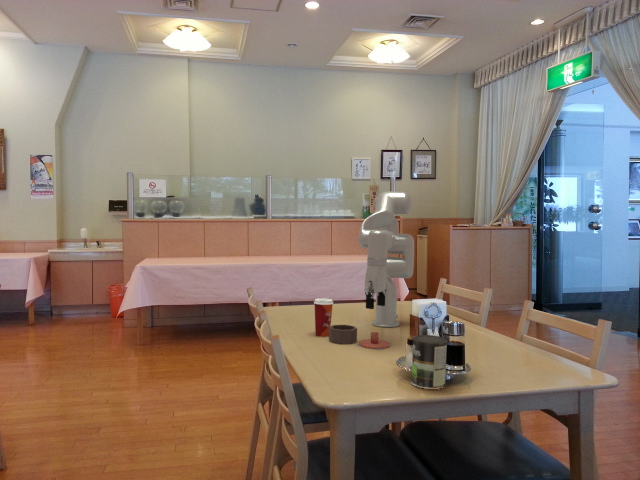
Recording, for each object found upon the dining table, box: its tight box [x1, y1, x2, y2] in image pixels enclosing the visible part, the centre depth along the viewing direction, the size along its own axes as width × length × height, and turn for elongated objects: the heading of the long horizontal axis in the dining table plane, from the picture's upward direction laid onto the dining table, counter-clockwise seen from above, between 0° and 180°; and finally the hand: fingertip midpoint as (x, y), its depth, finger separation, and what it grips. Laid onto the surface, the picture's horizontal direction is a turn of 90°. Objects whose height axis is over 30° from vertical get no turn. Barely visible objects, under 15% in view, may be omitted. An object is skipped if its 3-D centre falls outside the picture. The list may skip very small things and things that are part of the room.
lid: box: [358, 331, 391, 350], centre depth 210 cm, size 12×12×5 cm
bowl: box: [328, 324, 358, 345], centre depth 215 cm, size 10×10×6 cm
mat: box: [354, 343, 394, 351], centre depth 210 cm, size 11×11×1 cm
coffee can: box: [410, 334, 448, 388], centre depth 164 cm, size 10×10×14 cm
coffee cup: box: [313, 297, 334, 338], centre depth 227 cm, size 8×8×15 cm
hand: (375, 307), depth 209 cm, fingers open, 9 cm apart
